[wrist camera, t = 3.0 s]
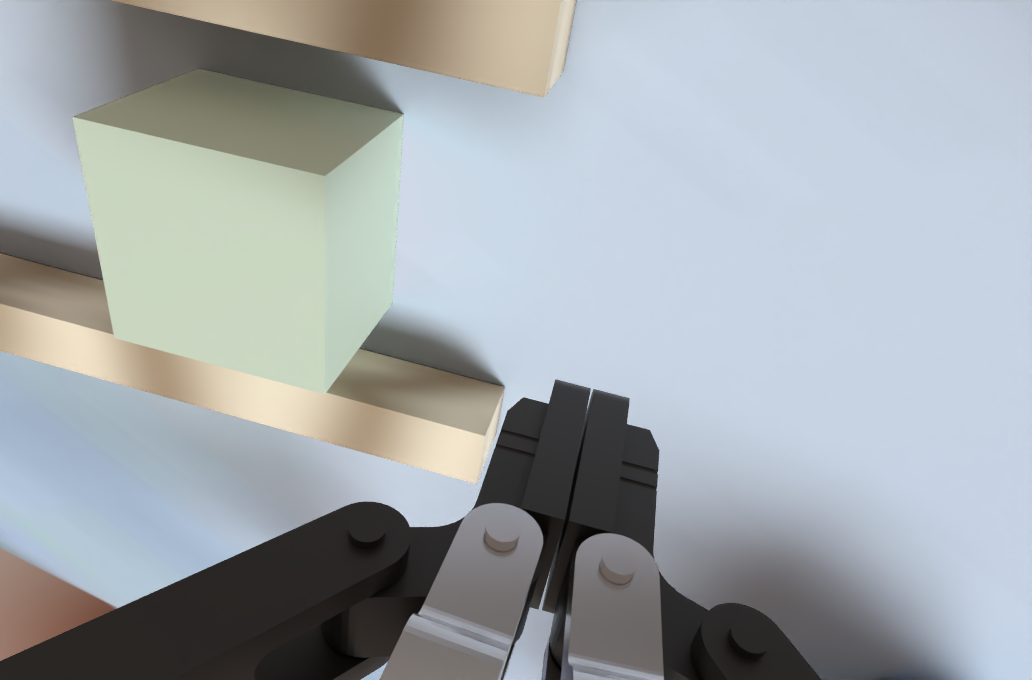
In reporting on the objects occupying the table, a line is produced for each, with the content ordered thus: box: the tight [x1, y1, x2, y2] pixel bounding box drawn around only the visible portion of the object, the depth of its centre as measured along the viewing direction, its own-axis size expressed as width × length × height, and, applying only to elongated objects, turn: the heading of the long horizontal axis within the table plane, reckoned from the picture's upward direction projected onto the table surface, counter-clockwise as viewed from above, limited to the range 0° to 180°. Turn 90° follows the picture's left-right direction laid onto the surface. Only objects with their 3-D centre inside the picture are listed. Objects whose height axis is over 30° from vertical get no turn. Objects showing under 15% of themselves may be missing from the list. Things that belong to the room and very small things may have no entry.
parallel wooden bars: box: [0, 0, 577, 484], centre depth 21 cm, size 20×14×2 cm
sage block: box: [72, 69, 404, 394], centre depth 20 cm, size 6×6×5 cm
